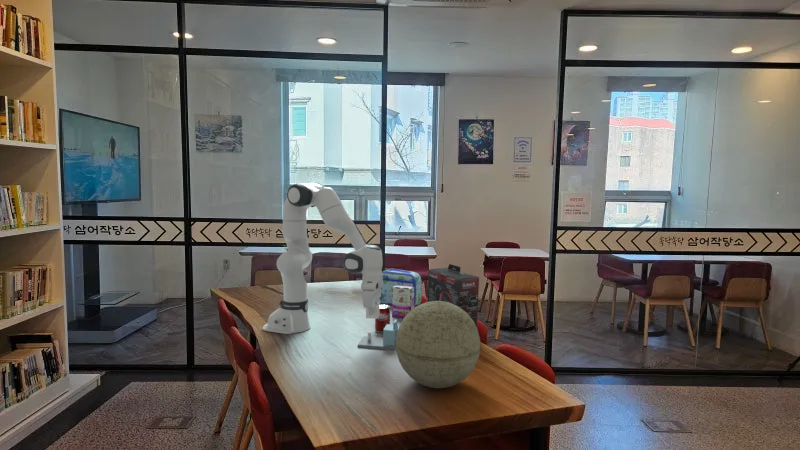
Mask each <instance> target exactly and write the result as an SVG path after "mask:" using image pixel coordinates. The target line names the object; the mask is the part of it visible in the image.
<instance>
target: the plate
mask: <svg viewBox="0 0 800 450" xmlns="http://www.w3.org/2000/svg"><path fill="white" fill-rule="evenodd" d="M357 348H363V349H372V350H373V349H374V350H375V349H376V350H386V351H387V350H388V351H395V350H396V340H395V345H394V346H393V345H383V337H378V336H372V331H368V332H367V336H365V335H364V336H363V337H362V338H361V339H360V341H359V342H358V343H357Z"/></svg>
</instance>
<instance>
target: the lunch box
mask: <svg viewBox="0 0 800 450" xmlns="http://www.w3.org/2000/svg"><path fill="white" fill-rule="evenodd" d="M382 274H383V286H381V297H380V298H379V302H380V303H381V305H389V306H390V305H391V306H392V287H393V286H395V285H398V286H409V287H414V307H417V306H418V305H421V304H422V303H421V302H422V297H423V296H422V291H423V290H422V289H423V288H422V287H423V286H422V278H421V277H422V276H421V275H420V274H419V273H417V272H415V271H411V270H404V269H403V270H402V269H395V268H393V267H391V268H389V269H387V270H383V271H382Z"/></svg>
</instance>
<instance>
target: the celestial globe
mask: <svg viewBox="0 0 800 450" xmlns="http://www.w3.org/2000/svg"><path fill="white" fill-rule="evenodd" d="M395 352H396V355H397V359H398V361H399V363H400V365H401V367H402V369H403V371H404V372H405V373H406V374H407V375H408V376H409V377H410V378H411V379H412V380H414V381H415V382H416V383H418V384H420V385H422V386H425V387H428V388H431V389H445V388H450V387H453V386H456V385H457V384H459V383H461V382H463V381H464V380H465V379H466V378H467V377H468V376H470V375H471V373H472V372H473V370H474V369H475V367H476V365H477V364H478V361H479V357H480V353H481V338H480V334H479V330H478V326H477V327H476V325H475V323H474V321H473V320H472V319H471V317H470V316H469V315H468V314H467V313H466V312H465V311H464V310H462V309H461V308H460V307H458V306H456V305H454V304H452V303H448V302H443V301H431V302H428V301H426V302H423V303H420V304H419V305H416V306H414V309H412V310H411V311H410V312H409V313H408V314H407V315H406V316H405V317H404V318H402V320H401V322H400V323H399V325H398V332H397V336H396V347H395Z"/></svg>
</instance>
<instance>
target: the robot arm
mask: <svg viewBox="0 0 800 450" xmlns="http://www.w3.org/2000/svg"><path fill="white" fill-rule="evenodd" d="M286 198H287V199H285V200H284V203H283V209H282V236H283V239H284V241H285V243H286V246H287V251H284V252H282V254H280V255H279V257H277V259H276V268H277V270H278V271H279V272H280V275H281V280H282V284H283V298H282V300H280V301H279V302H278V305H279V306H280V307H278V308H277V309H276V310H274V312H272V313H270V315H269V317H268V319H267V323H266V324H264V325H263V326H262V331H265V332H272V333H278V334H283V335H291V334H296V333H302V332H307V331H308V330H310V329H311V325H310V320H309V315H308V310H309V300H308V283H307V281H306V280H305V276H304V269H306V268H307V267H308V266H309V265H310V264H311V262H312V260H313V253H312V252H311V249H310V245H309V240H308V234H307V232H308V231H307V227H308V226H307V225H308V223H307V211H308V209H309V208H315V207H316V209H317V210H318V212H319V215H320V217H321V219H322V221H323V223H324V225H326V227H327V228H329V229H330V230H333V231H336V232H339V233H341V234H343V235H345V236H346V237H347V238H348V240H349V242H350V244H351V245H352V247H353V249H354V250H353V251H351V252H348V253H346V254H345V255H344V256H343V259H342V267H343V268H344V270H345V272H347V273H349V274H358V273H361V274H362V280H361V283H360V284H361V285H360V289H361V290H362V291H361V292H362V293H361V296H362V298H361V299H362V306H363V308H365V309H366V308H368V311H369V315H373V306H374V304H378V301H380V299H379V298H380V297H381V286H383V274H382V269H383V262H384V261H383V251H382V249H381V247H379V246H378V245H375V244H368V243H367V241H366V239H365V238H364V236H363V234H362V233H361V231H360V229H359V227H358V226H357V224H356V223H355V221H354V220H353V219H352V218H351V217H350V215H349V214H348V212H347V210H346V208H345V207H344V205H343V203H342V201H341V199H340V197H339V196H338V194H337V193H336V191H335V190H334V189H333V188H332V187H329V186H325V185H324V184H322V183H318V182H303V183H302V182H299V183H295V184H292V185H290V186H289V188H288V189H287V192H286Z"/></svg>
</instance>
